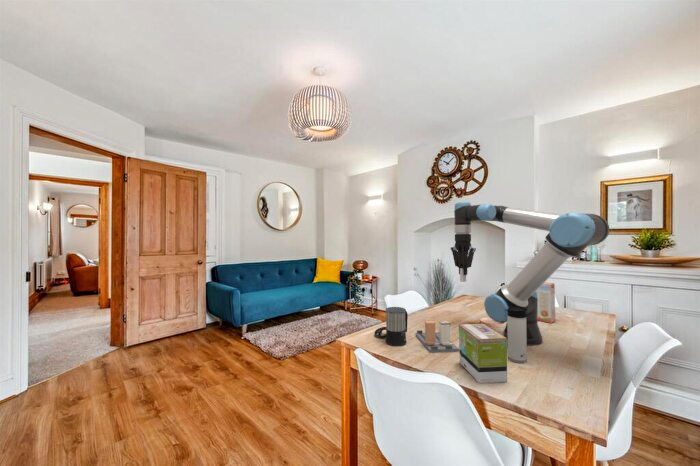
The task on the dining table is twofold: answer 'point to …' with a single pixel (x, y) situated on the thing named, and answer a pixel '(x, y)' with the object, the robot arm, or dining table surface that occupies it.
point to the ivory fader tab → (444, 332)
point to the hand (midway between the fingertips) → (463, 281)
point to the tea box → (483, 353)
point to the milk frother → (394, 326)
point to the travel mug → (517, 334)
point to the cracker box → (546, 302)
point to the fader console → (434, 339)
